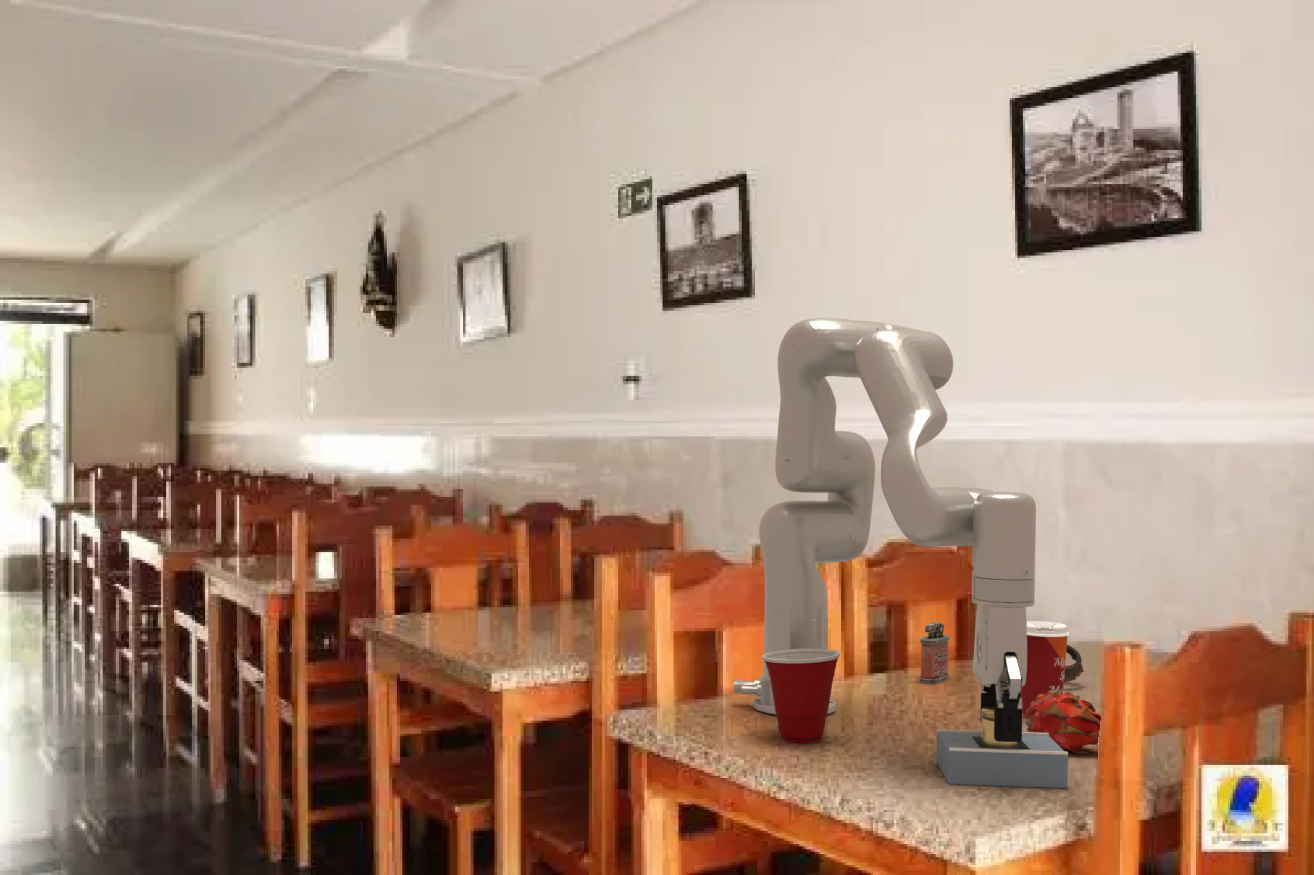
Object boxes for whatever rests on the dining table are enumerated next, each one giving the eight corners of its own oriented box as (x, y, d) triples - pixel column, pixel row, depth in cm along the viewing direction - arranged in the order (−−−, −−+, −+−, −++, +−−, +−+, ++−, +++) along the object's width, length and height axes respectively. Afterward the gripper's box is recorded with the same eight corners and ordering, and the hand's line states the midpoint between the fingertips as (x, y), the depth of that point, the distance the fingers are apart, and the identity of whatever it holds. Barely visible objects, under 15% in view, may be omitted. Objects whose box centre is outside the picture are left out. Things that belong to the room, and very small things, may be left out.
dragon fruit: (1020, 751, 178) (1106, 779, 170) (1006, 724, 172) (1094, 752, 164) (1042, 698, 181) (1127, 723, 173) (1029, 670, 175) (1116, 695, 168)
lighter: (934, 676, 225) (935, 619, 225) (952, 678, 223) (953, 620, 223) (915, 682, 218) (916, 624, 218) (933, 685, 216) (934, 626, 216)
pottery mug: (1080, 683, 223) (1091, 647, 218) (1069, 716, 215) (1080, 679, 211) (1012, 660, 227) (1021, 624, 223) (998, 692, 220) (1008, 655, 215)
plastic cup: (775, 726, 183) (777, 642, 183) (848, 734, 179) (850, 648, 179) (748, 742, 174) (750, 653, 174) (825, 751, 169) (826, 660, 169)
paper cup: (1071, 724, 188) (1072, 628, 188) (1016, 721, 190) (1018, 626, 190) (1065, 713, 196) (1066, 621, 196) (1013, 710, 197) (1014, 619, 197)
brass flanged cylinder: (984, 779, 157) (985, 713, 157) (977, 769, 161) (978, 706, 161) (1021, 780, 156) (1022, 715, 156) (1013, 770, 161) (1014, 707, 161)
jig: (948, 783, 154) (949, 748, 154) (936, 762, 164) (937, 729, 164) (1067, 788, 153) (1068, 752, 153) (1047, 766, 163) (1048, 733, 163)
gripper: (960, 583, 168) (958, 716, 168) (985, 600, 150) (982, 748, 150) (1018, 584, 167) (1016, 718, 167) (1050, 601, 150) (1047, 751, 150)
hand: (1000, 732), depth 159 cm, fingers open, 8 cm apart
